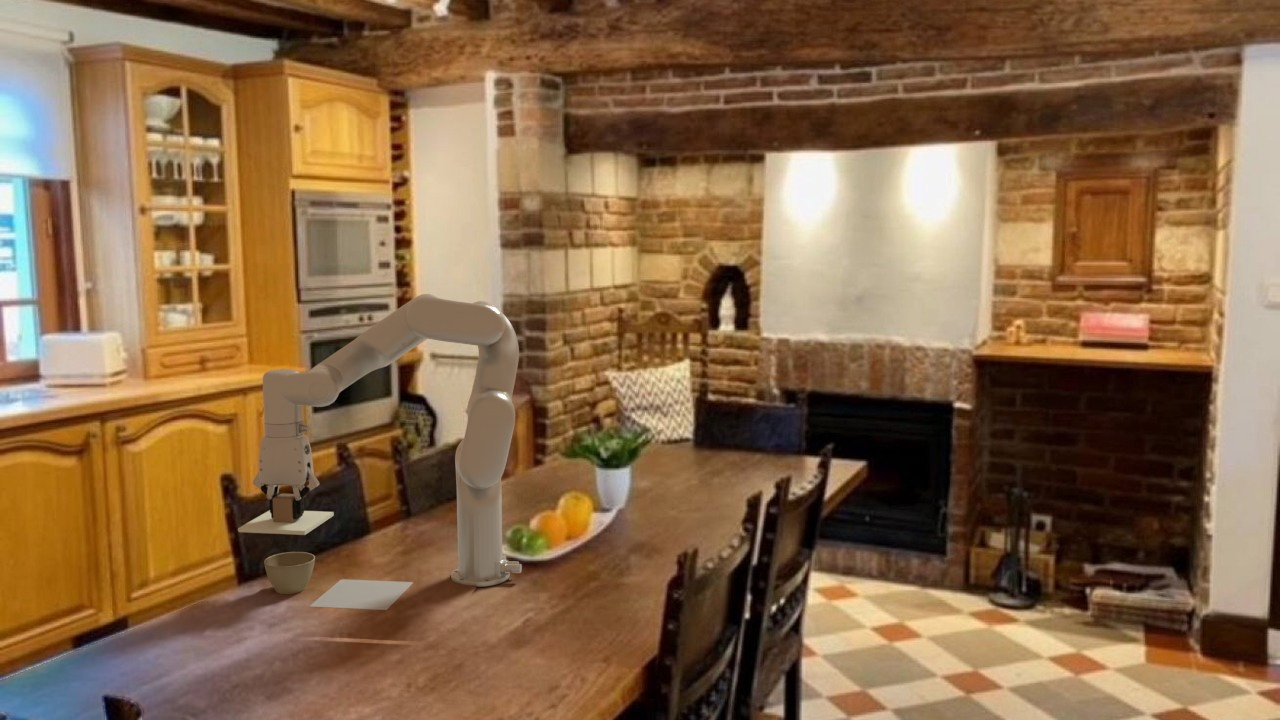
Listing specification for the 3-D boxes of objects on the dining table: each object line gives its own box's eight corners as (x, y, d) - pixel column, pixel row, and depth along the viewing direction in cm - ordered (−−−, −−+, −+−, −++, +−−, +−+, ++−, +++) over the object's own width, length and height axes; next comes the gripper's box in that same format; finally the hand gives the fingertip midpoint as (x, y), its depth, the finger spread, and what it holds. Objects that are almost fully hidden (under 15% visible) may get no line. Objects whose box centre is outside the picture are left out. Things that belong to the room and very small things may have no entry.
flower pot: (300, 602, 206) (298, 568, 205) (255, 598, 208) (254, 564, 207) (325, 585, 215) (323, 552, 214) (282, 582, 217) (280, 549, 216)
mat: (413, 584, 216) (413, 582, 216) (386, 612, 200) (386, 609, 200) (341, 581, 217) (341, 579, 217) (309, 609, 202) (308, 606, 202)
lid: (333, 515, 216) (332, 489, 215) (304, 534, 202) (303, 506, 201) (271, 513, 217) (270, 486, 216) (238, 532, 203) (237, 503, 203)
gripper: (330, 427, 210) (333, 513, 212) (254, 425, 212) (257, 510, 214) (315, 434, 202) (318, 523, 205) (235, 432, 204) (239, 520, 207)
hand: (287, 516), depth 209 cm, fingers closed on lid, 4 cm apart
